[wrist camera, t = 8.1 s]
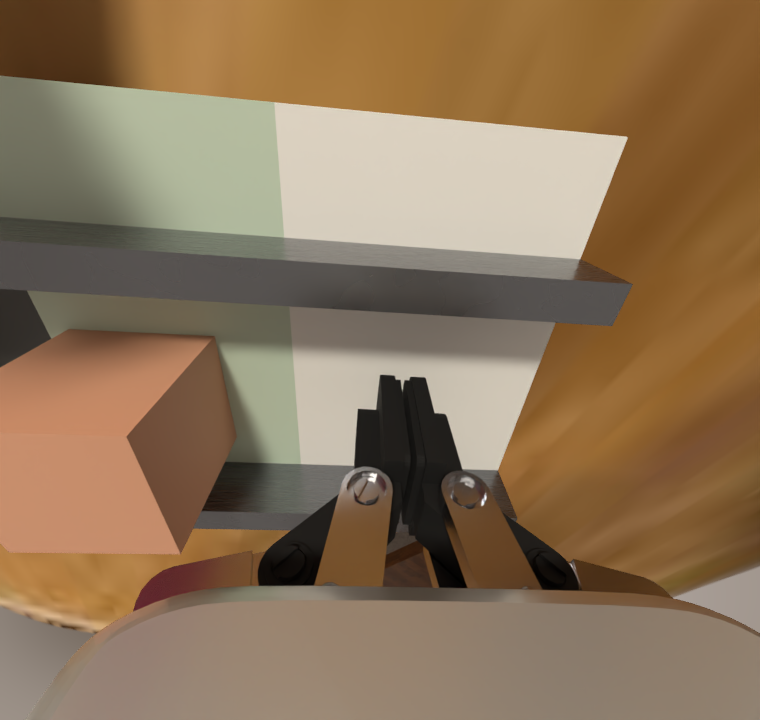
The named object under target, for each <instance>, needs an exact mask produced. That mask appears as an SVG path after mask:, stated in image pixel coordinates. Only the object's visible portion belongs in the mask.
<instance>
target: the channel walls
mask: <svg viewBox="0 0 760 720" xmlns="http://www.w3.org/2000/svg"><path fill="white" fill-rule="evenodd" d="M632 285H633V284H631V283H629V282H627V281H625V280H623V279H621V278H619V277H616V276H614V275H612V274H610V273H608V272H606V271H604V270H602V269H600V268H598V267H595V266H593V265H591V264H589V263H587V262H585V261H583V260H581V259H571V258H557V257H543V256H530V255H516V254H502V253H488V252H475V251H461V250H447V249H434V248H420V247H406V246H393V245H379V244H365V243H352V242H338V241H324V240H311V239H297V238H283V237H270V236H256V235H242V234H229V233H215V232H201V231H187V230H174V229H160V228H146V227H133V226H119V225H105V224H92V223H78V222H64V221H51V220H37V219H23V218H10V217H0V289H10V290H27V291H43V292H60V293H76V294H93V295H109V296H126V297H142V298H159V299H176V300H192V301H209V302H225V303H242V304H258V305H275V306H291V307H308V308H324V309H341V310H357V311H374V312H390V313H407V314H423V315H440V316H456V317H473V318H489V319H506V320H523V321H539V322H556V323H572V324H589V325H605V326H612V325H613V323H614V321H615V319H616V317H617V315H618V313H619V311H620V309H621V307H622V305H623V303H624V301H625V299H626V297H627V295H628V293H629V291H630V289H631V287H632ZM352 470H354V466H343V465H312V464H280V463H248V462H225V463H224V465H223V467H222V469H221V471H220V473H219V475H218V477H217V480H216V482H215V484H214V486H213V488H212V490H211V492H210V494H209V496H208V498H207V500H206V502H205V505H204V507H203V509H202V511H201V513H200V515H199V517H198V519H197V521H196V523H195V525H194V527H193V528H198V529H249V530H293V529H294V528H295V527H296V526H298V525H299V524H300V523H302V522H303V521H304V520H306V519H307V518H308V517H309V516H311V515H312V514H313V513H315V512H316V511H317V510H319V509H320V508H321V507H322V506H324V505H325V504H326V503H328V502H329V501H330V500H332V499H333V498H334V497H335V496H337V495H338V494H339V492H340V488H341V484H342V482H343V480H344V477H345V476H346V475H347V474H348V473H349V472H350V471H352ZM463 471H466V472H469V473H472V474H474V475H476V476H478V477H479V478H481V479H482V480H483V481H484V482H485V483H486V485H487V486H488V487H489V489H490V491H491V493H492V494H493V496H494V498H495V500H496V502H497V504H498V506H499V508H500V510H501V512H503V513H504V514H506V515H507V516H508V517H510V518H511V519H512V520H514V521H515V522H516V520H517V516H516V514H515V511H514V509H513V507H512V504H511V502H510V499H509V497H508V494H507V492H506V489H505V487H504V485H503V482H502V480H501V477H500V475H499V472H498V470H470V469H463ZM396 532H404V533H409V529H408V525H403V523H402V515H401V513H400V518H399V523H398V525H397V529H396Z"/></svg>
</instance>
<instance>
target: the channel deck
mask: <svg viewBox="0 0 760 720" xmlns="http://www.w3.org/2000/svg"><path fill="white" fill-rule="evenodd" d="M627 138H628V137H623V136H613V135H602V134H592V133H582V132H572V131H561V130H551V129H541V128H531V127H520V126H510V125H500V124H490V123H480V122H469V121H459V120H449V119H439V118H428V117H418V116H408V115H398V114H387V113H377V112H367V111H357V110H347V109H336V108H326V107H316V106H306V105H295V104H285V103H275V102H265V101H254V100H244V99H234V98H224V97H213V96H203V95H193V94H183V93H173V92H162V91H152V90H142V89H132V88H121V87H111V86H101V85H91V84H80V83H70V82H60V81H50V80H40V79H29V78H19V77H9V76H0V217H10V218H23V219H37V220H51V221H64V222H78V223H92V224H105V225H119V226H133V227H146V228H160V229H174V230H187V231H201V232H215V233H229V234H242V235H256V236H270V237H283V238H297V239H311V240H324V241H338V242H352V243H365V244H379V245H393V246H406V247H420V248H434V249H447V250H461V251H475V252H488V253H502V254H516V255H530V256H543V257H557V258H571V259H580V258H581V256H582V253H583V251H584V248H585V246H586V243H587V240H588V238H589V235H590V233H591V230H592V228H593V225H594V223H595V220H596V217H597V215H598V212H599V210H600V207H601V205H602V202H603V200H604V197H605V194H606V192H607V189H608V187H609V184H610V182H611V179H612V176H613V174H614V171H615V169H616V166H617V164H618V161H619V159H620V156H621V153H622V151H623V148H624V146H625V143H626V141H627ZM554 325H555V322H539V321H523V320H506V319H489V318H473V317H456V316H440V315H423V314H407V313H390V312H374V311H357V310H341V309H324V308H308V307H291V306H275V305H258V304H242V303H225V302H209V301H192V300H176V299H159V298H142V297H126V296H109V295H93V294H76V293H60V292H43V291H27V290H10V289H0V367H2V366H4V365H6V364H7V363H9V362H11V361H13V360H15V359H16V358H18V357H20V356H22V355H23V354H25V353H27V352H29V351H31V350H32V349H34V348H36V347H38V346H39V345H41V344H43V343H45V342H47V341H48V340H50V339H52V338H54V337H55V336H57V335H59V334H61V333H63V332H64V331H66V330H68V329H77V330H98V331H119V332H139V333H160V334H181V335H202V336H215V340H216V345H217V349H218V354H219V358H220V363H221V367H222V372H223V376H224V381H225V385H226V390H227V395H228V399H229V404H230V408H231V413H232V417H233V422H234V426H235V431H236V435H237V438H236V440H235V442H234V444H233V446H232V448H231V450H230V452H229V455H228V457H227V459H226V461H225V462H248V463H280V464H312V465H343V466H354V458H355V441H356V426H357V412H358V409H371V410H376V405H377V396H378V387H379V379H380V375H394V376H395V379H396V380H401V387H402V391H403V385H404V380H409V379H410V377H425V378H426V381H427V385H428V389H429V393H430V397H431V401H432V405H433V409H434V413H441V414H446V416H447V418H448V422H449V425H450V429H451V432H452V435H453V439H454V442H455V446H456V449H457V452H458V456H459V459H460V463H461V466H462V469H470V470H498V468H499V466H500V463H501V461H502V458H503V456H504V453H505V450H506V448H507V445H508V443H509V440H510V438H511V435H512V432H513V430H514V427H515V425H516V422H517V420H518V417H519V415H520V412H521V409H522V407H523V404H524V402H525V399H526V397H527V394H528V392H529V389H530V386H531V384H532V381H533V379H534V376H535V374H536V371H537V368H538V366H539V363H540V361H541V358H542V356H543V353H544V351H545V348H546V345H547V343H548V340H549V338H550V335H551V333H552V330H553V328H554Z"/></svg>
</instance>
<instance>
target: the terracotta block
mask: <svg viewBox="0 0 760 720" xmlns="http://www.w3.org/2000/svg"><path fill="white" fill-rule="evenodd" d="M236 438H237V435H236V431H235V426H234V422H233V417H232V413H231V408H230V404H229V399H228V395H227V390H226V385H225V381H224V376H223V372H222V367H221V363H220V358H219V354H218V349H217V345H216V340H215V336H202V335H181V334H160V333H139V332H119V331H98V330H77V329H68V330H66V331H64V332H63V333H61V334H59V335H57V336H55V337H54V338H52V339H50V340H48V341H47V342H45V343H43V344H41V345H39V346H38V347H36V348H34V349H32V350H31V351H29V352H27V353H25V354H23V355H22V356H20V357H18V358H16V359H15V360H13V361H11V362H9V363H7V364H6V365H4V366H2V367H0V543H1V545H2V546H3V547H4V548H5V549H6V550H7V551H8V552H23V553H114V554H181V552H182V550H183V548H184V546H185V544H186V542H187V540H188V538H189V536H190V534H191V532H192V529H193V527H194V525H195V523H196V521H197V519H198V517H199V515H200V513H201V511H202V509H203V507H204V505H205V502H206V500H207V498H208V496H209V494H210V492H211V490H212V488H213V486H214V484H215V482H216V480H217V477H218V475H219V473H220V471H221V469H222V467H223V465H224V463H225V461H226V459H227V457H228V455H229V452H230V450H231V448H232V446H233V444H234V442H235V440H236Z"/></svg>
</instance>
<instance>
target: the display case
mask: <svg viewBox="0 0 760 720" xmlns="http://www.w3.org/2000/svg"><path fill="white" fill-rule="evenodd" d="M383 587H424V588H433V587H432V583H431V579H430V576H429V572H428V569H427V565H426V561H425V558H424V553H423V545H421V544H420V543H419V542H418V541H417V540H416V539H415V536H409V533H404V532H398V533H396V534H395V538H394V539H393V540H392V541H391V542H390V544H389V545H388V546H387V550H386V559H385V568H384V578H383Z"/></svg>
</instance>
